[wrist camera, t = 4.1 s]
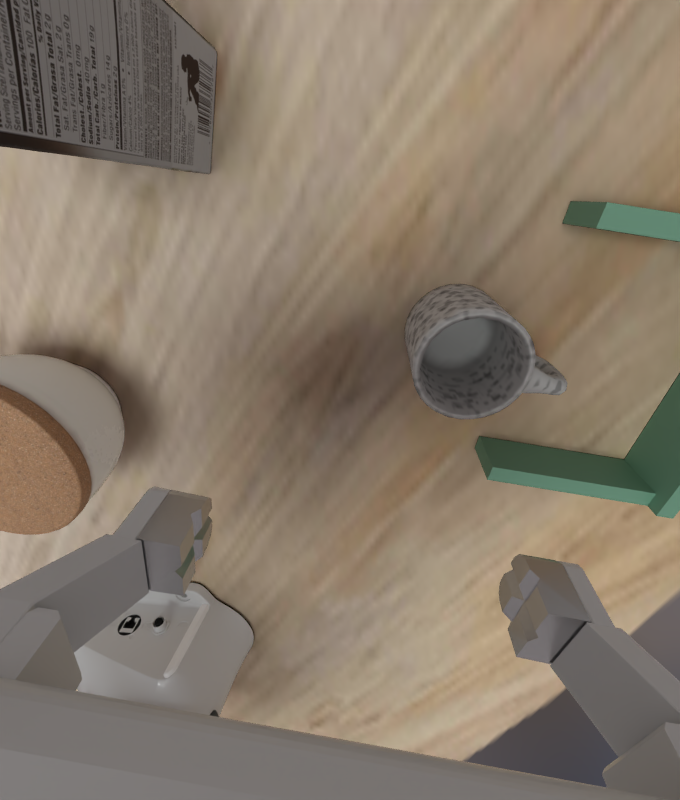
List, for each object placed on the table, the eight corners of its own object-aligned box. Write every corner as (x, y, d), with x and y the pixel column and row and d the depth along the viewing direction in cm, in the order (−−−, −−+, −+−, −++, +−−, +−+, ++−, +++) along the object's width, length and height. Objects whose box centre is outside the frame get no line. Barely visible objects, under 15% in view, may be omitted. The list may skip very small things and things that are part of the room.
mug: (391, 358, 28) (395, 401, 22) (425, 270, 25) (441, 293, 19) (514, 396, 29) (549, 447, 23) (563, 315, 26) (618, 350, 20)
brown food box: (68, 141, 23) (-419, 54, 9) (52, -2, 20) (-736, -485, 6) (213, 179, 23) (-33, 154, 9) (221, 44, 20) (-136, -306, 6)
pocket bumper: (474, 447, 31) (491, 488, 27) (570, 201, 22) (618, 202, 18) (631, 473, 31) (673, 518, 27) (790, 236, 22) (892, 245, 18)
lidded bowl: (127, 331, 29) (3, 399, 19) (167, 461, 35) (88, 563, 25) (-22, 330, 30) (-211, 395, 20) (42, 457, 36) (-80, 553, 26)
